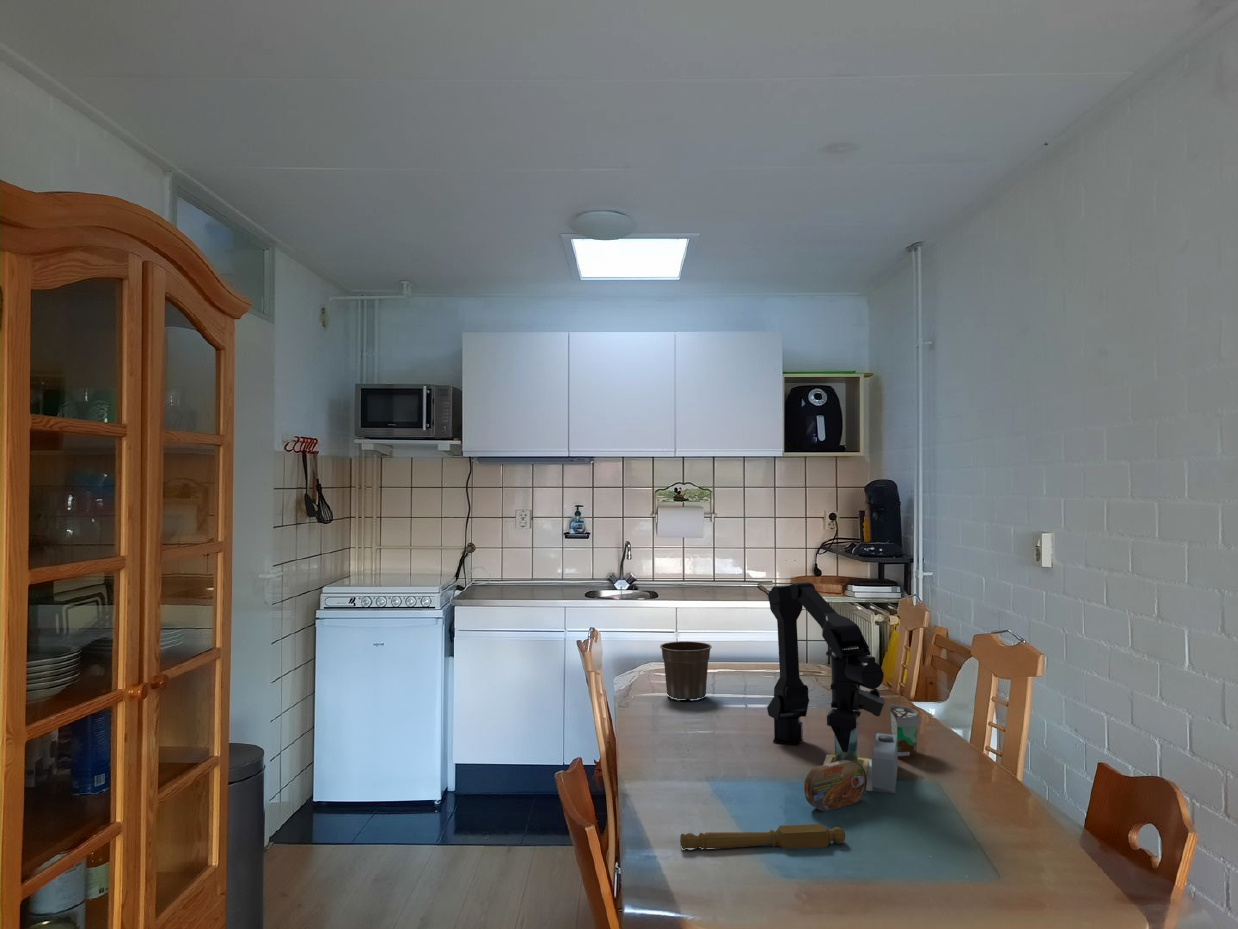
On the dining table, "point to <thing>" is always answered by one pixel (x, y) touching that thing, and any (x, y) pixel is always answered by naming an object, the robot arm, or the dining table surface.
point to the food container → (904, 730)
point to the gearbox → (879, 764)
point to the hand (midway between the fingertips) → (846, 748)
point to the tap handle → (768, 838)
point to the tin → (835, 785)
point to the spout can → (852, 749)
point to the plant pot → (686, 668)
